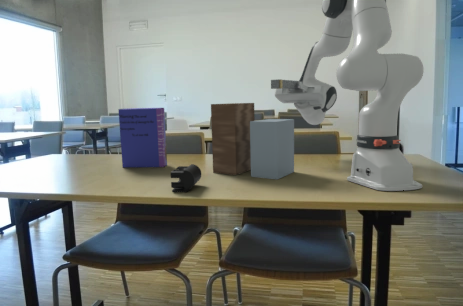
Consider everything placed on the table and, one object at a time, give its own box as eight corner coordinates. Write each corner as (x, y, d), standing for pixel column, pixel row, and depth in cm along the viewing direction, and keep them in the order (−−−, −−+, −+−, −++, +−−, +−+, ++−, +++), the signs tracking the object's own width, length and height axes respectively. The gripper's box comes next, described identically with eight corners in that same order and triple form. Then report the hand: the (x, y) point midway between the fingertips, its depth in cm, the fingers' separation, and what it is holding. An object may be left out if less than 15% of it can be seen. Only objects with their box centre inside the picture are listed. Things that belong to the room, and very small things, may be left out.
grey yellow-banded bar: (295, 89, 143) (295, 81, 143) (303, 89, 141) (303, 81, 141) (270, 88, 125) (270, 79, 125) (279, 88, 123) (279, 79, 123)
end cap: (194, 193, 104) (193, 170, 103) (171, 192, 105) (169, 170, 104) (202, 184, 114) (201, 163, 113) (180, 184, 115) (179, 164, 114)
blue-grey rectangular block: (269, 169, 135) (268, 119, 133) (294, 171, 130) (294, 119, 127) (250, 176, 124) (249, 121, 121) (277, 179, 118) (276, 121, 116)
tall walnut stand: (233, 166, 144) (231, 103, 140) (255, 168, 139) (254, 102, 135) (213, 172, 132) (210, 104, 129) (236, 175, 127) (234, 103, 123)
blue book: (167, 165, 150) (164, 107, 147) (164, 167, 146) (160, 107, 142) (127, 165, 152) (123, 108, 148) (122, 167, 147) (118, 108, 144)
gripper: (283, 95, 155) (270, 78, 144) (330, 94, 144) (320, 75, 133) (280, 108, 153) (267, 92, 142) (327, 108, 142) (317, 90, 131)
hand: (293, 83), depth 137 cm, fingers closed on grey yellow-banded bar, 3 cm apart
